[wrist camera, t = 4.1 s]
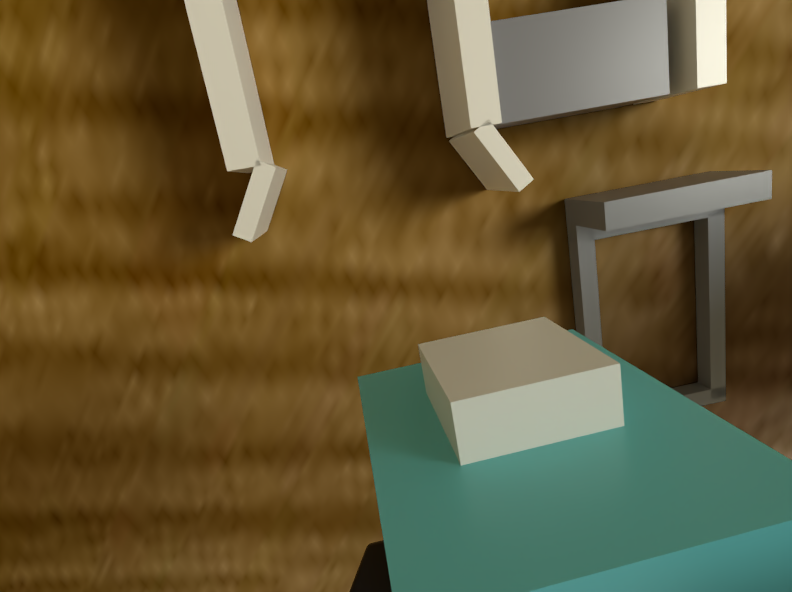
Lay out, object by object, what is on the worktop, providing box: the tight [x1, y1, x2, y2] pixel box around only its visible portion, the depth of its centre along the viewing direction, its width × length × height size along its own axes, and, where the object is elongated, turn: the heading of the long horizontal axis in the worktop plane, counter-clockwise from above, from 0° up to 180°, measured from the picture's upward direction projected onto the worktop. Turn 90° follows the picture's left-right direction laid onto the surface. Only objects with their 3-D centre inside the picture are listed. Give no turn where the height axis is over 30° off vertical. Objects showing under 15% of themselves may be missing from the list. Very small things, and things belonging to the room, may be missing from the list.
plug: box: [358, 317, 792, 592], centre depth 7 cm, size 7×4×5 cm, turn 10°
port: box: [184, 0, 727, 242], centre depth 16 cm, size 11×16×4 cm
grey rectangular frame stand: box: [565, 170, 772, 406], centre depth 20 cm, size 10×6×3 cm, turn 10°
